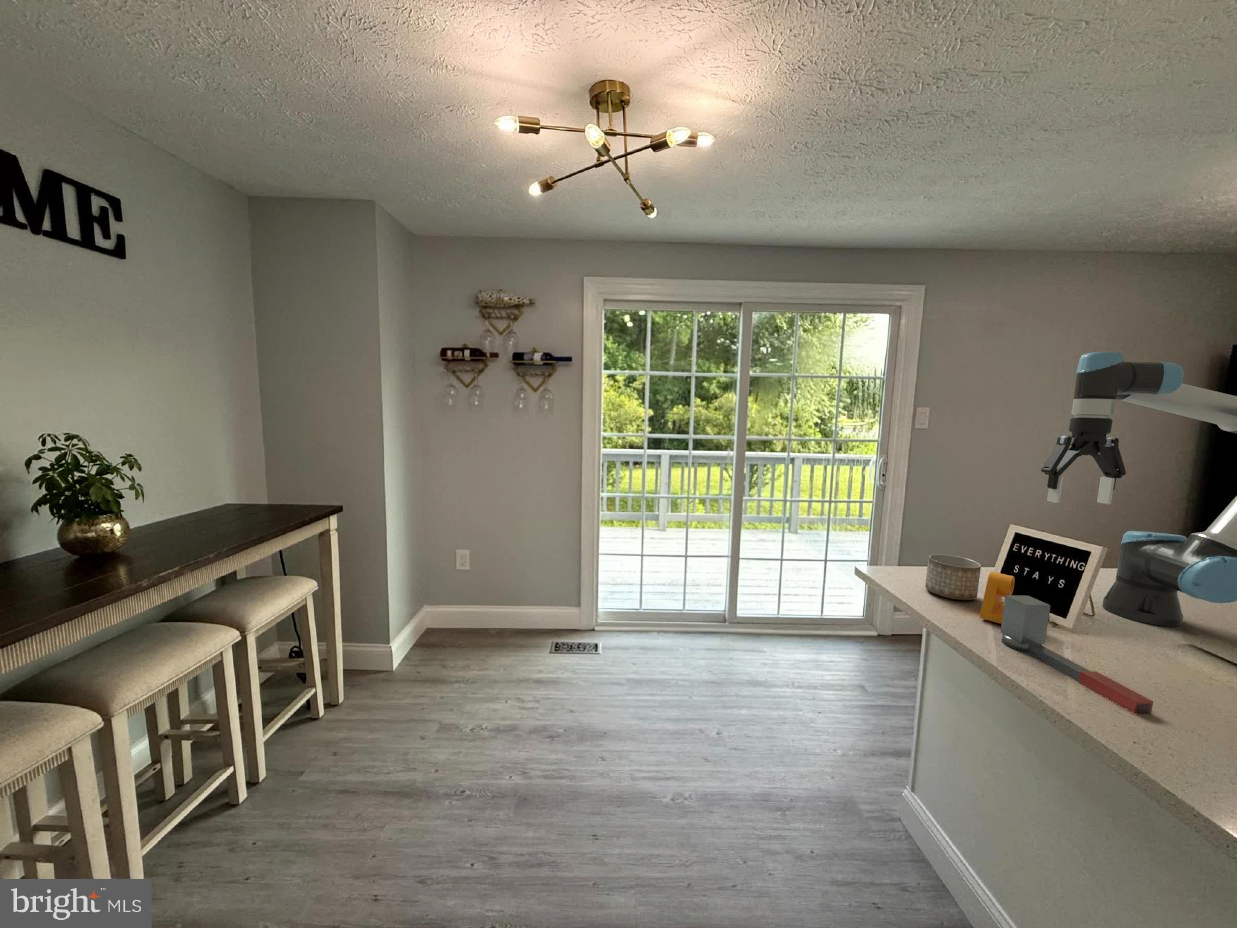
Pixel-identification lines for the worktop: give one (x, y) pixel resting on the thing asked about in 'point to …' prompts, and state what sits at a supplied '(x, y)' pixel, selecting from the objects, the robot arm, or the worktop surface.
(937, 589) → the planter
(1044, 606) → the gray rectangular block
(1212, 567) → the robot arm
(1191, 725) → the worktop surface
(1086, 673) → the ratchet
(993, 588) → the bracket
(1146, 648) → the worktop surface
